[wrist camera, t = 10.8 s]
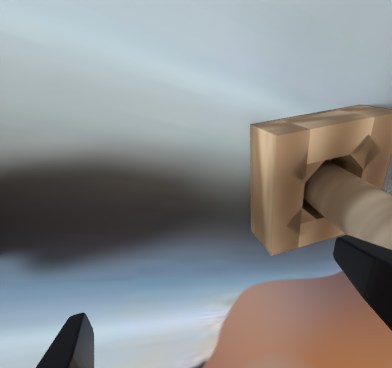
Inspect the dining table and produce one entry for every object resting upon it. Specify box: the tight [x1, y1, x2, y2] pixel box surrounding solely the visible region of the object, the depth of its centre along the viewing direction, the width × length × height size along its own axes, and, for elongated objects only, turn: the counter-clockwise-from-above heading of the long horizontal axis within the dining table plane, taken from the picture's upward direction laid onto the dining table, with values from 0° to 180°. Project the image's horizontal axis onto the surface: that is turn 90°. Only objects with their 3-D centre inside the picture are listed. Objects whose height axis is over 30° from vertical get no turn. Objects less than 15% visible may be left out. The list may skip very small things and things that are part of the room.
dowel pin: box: [303, 160, 392, 250], centre depth 17 cm, size 4×4×14 cm
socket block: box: [250, 105, 392, 256], centre depth 22 cm, size 11×11×4 cm
